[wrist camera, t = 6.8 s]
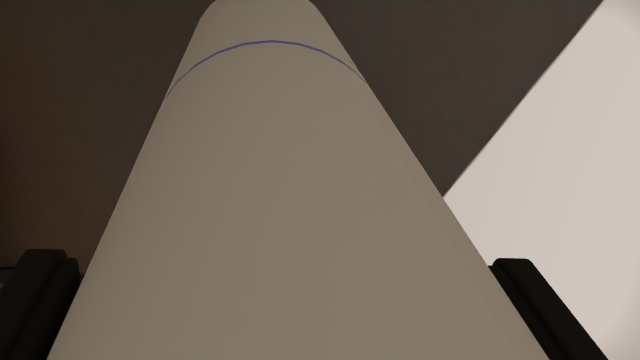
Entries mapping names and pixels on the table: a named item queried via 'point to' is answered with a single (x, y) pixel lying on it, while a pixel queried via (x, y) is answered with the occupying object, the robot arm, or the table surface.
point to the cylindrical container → (283, 219)
